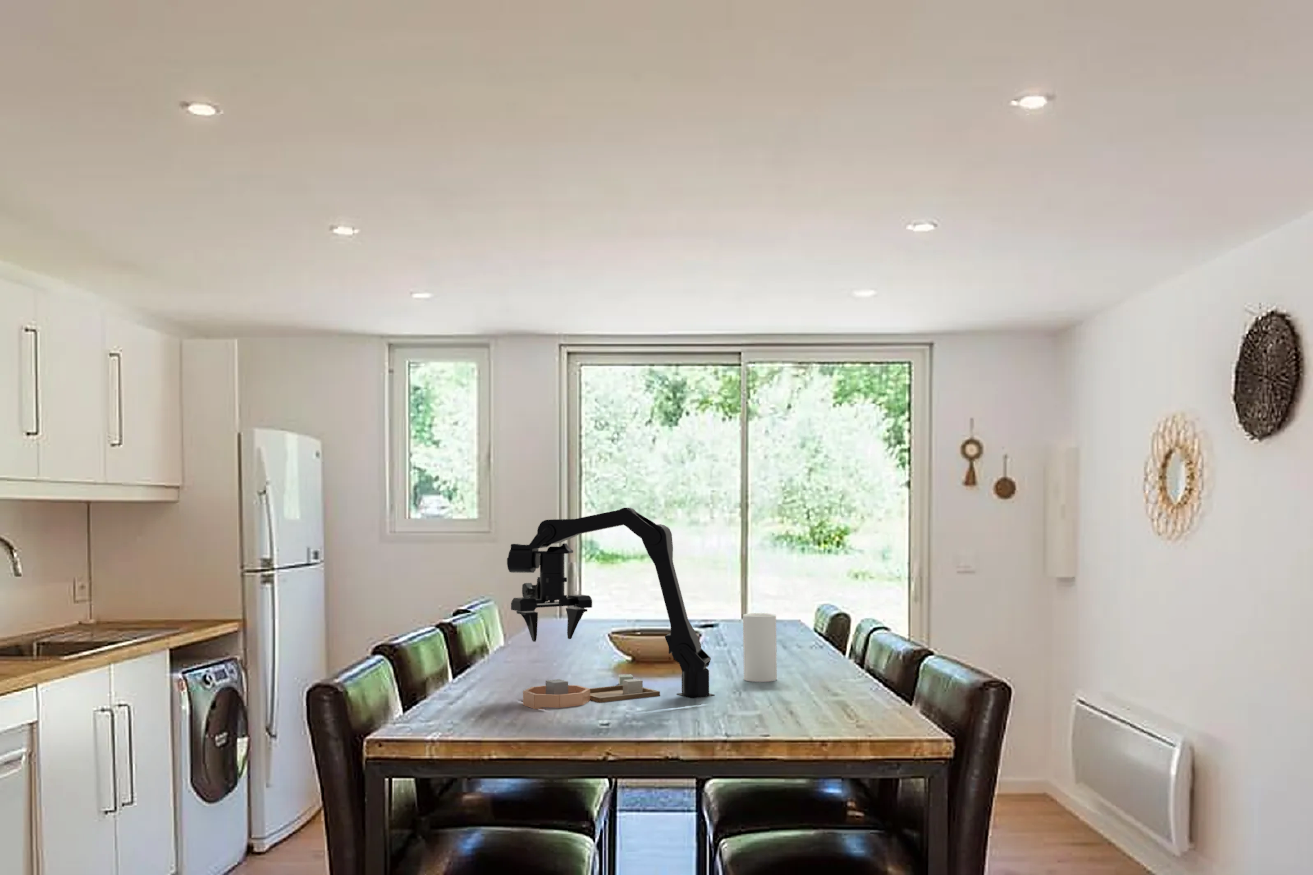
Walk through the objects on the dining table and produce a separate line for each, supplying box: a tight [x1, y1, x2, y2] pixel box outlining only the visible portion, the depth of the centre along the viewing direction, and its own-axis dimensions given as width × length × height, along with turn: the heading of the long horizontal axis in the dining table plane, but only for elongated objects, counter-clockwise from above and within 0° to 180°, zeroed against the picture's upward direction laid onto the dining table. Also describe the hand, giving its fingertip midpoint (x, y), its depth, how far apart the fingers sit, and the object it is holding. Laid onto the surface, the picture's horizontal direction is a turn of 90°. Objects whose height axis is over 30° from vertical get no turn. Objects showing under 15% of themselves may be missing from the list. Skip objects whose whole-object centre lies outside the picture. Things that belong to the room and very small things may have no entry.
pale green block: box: [617, 673, 634, 685], centre depth 256 cm, size 3×4×3 cm
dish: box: [522, 684, 591, 710], centre depth 234 cm, size 14×14×3 cm
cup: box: [742, 612, 778, 683], centre depth 267 cm, size 8×8×16 cm
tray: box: [589, 684, 661, 703], centre depth 242 cm, size 13×16×1 cm
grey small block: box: [623, 678, 644, 694], centre depth 243 cm, size 4×3×3 cm
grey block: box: [545, 678, 569, 695], centre depth 234 cm, size 4×3×4 cm
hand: (552, 640), depth 249 cm, fingers open, 9 cm apart
